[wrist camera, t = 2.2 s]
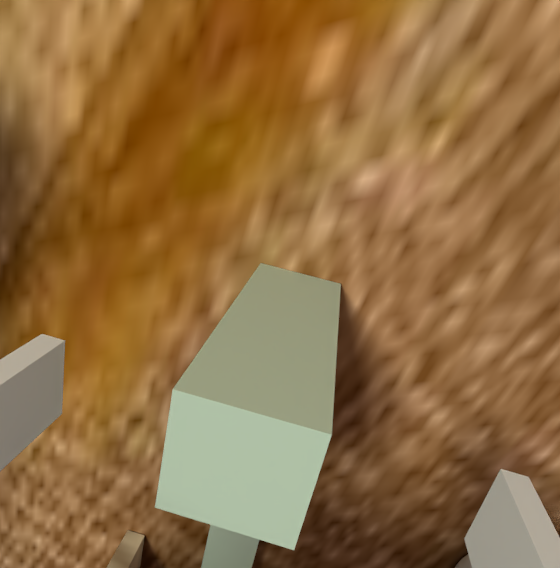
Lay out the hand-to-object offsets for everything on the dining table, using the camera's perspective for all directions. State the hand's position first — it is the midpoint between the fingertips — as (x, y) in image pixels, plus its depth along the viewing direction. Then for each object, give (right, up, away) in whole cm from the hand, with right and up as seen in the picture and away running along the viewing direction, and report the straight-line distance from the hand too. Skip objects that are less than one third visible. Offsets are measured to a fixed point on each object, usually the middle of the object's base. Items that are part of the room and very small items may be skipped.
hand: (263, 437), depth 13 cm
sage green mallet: (-1, -4, +12) cm, 13 cm away
